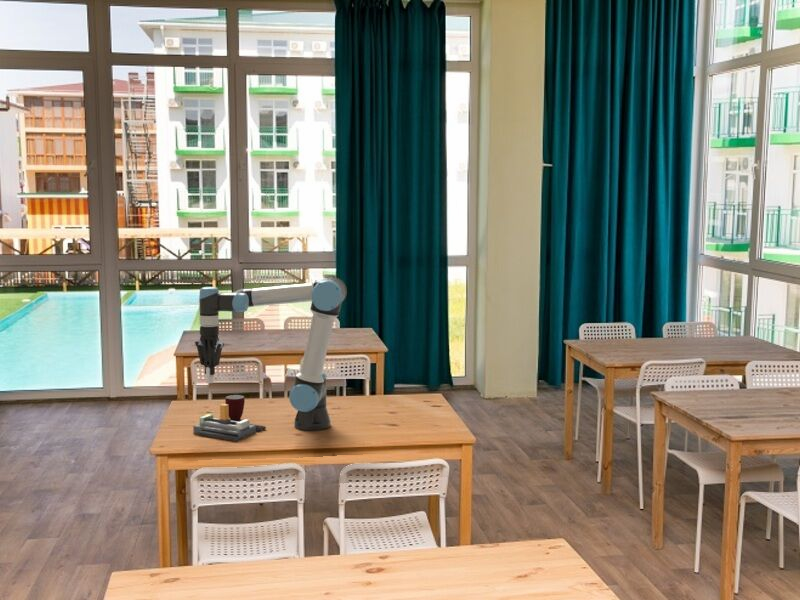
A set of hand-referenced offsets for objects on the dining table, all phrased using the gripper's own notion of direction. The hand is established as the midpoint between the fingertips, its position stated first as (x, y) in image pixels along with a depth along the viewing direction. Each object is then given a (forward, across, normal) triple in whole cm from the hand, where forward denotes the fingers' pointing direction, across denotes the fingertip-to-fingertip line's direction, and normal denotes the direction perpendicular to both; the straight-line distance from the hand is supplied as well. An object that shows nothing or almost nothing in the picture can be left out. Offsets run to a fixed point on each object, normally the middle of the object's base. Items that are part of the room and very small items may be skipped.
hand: (209, 382), depth 358 cm
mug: (+21, +2, -18) cm, 27 cm away
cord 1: (+20, -9, +7) cm, 23 cm away
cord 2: (+20, -7, -11) cm, 24 cm away
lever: (+17, -7, 0) cm, 18 cm away
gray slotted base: (+20, -7, 0) cm, 21 cm away
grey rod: (+20, -7, -9) cm, 23 cm away
